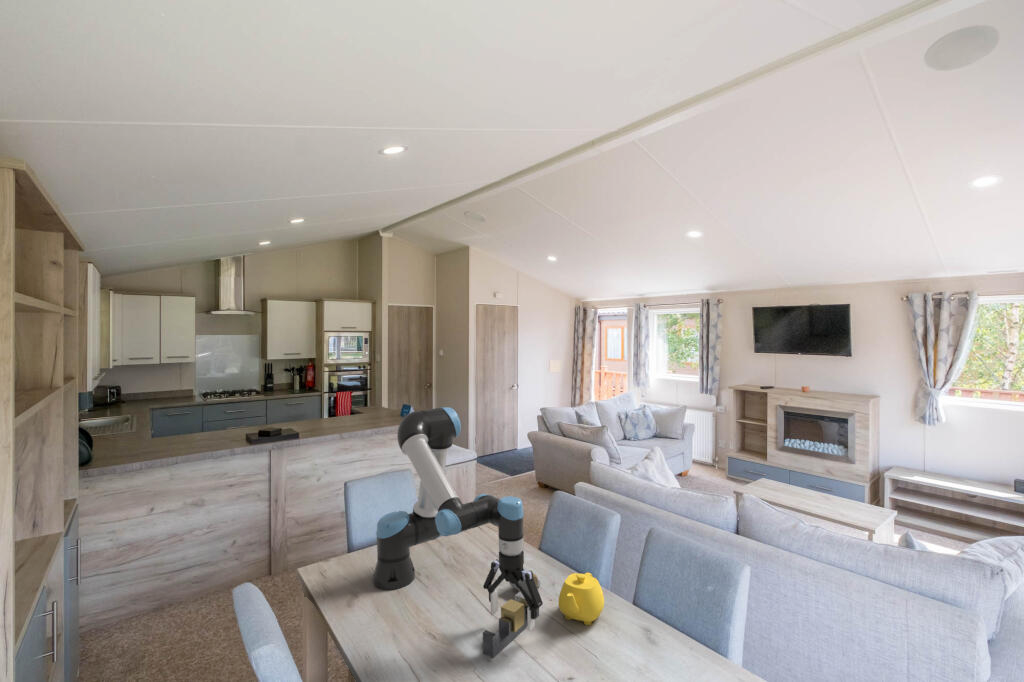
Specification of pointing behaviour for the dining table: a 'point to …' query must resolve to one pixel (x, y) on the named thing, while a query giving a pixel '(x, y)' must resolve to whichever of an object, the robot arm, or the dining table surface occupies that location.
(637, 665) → the dining table surface
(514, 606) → the unfinished wooden cube
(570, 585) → the teapot
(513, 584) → the ceramic mug
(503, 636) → the rack rail
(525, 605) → the plain grey cube
